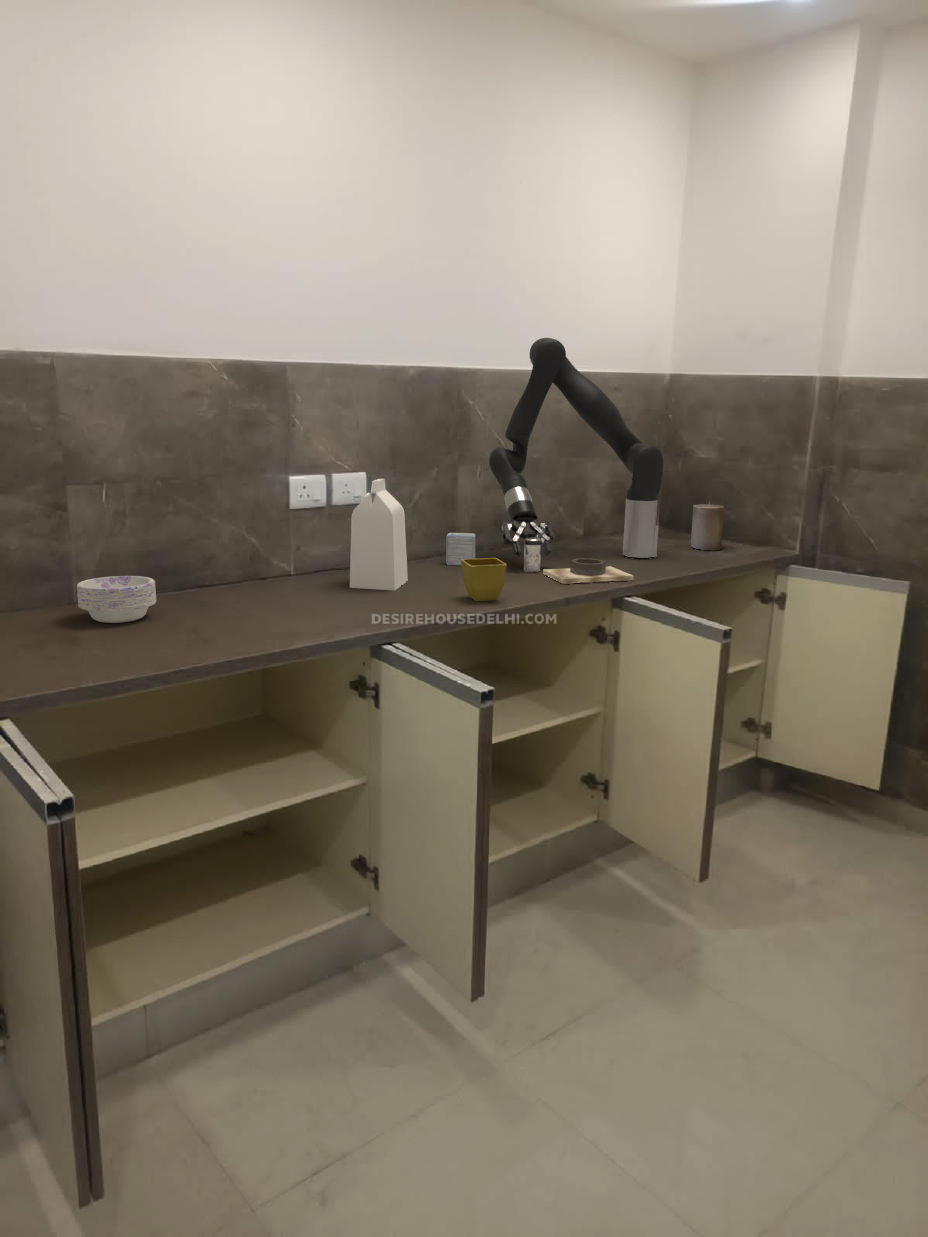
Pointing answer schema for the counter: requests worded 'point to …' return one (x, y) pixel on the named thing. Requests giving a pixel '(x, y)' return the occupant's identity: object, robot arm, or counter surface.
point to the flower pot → (483, 577)
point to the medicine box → (459, 547)
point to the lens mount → (587, 572)
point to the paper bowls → (116, 597)
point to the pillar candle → (707, 526)
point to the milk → (378, 541)
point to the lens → (532, 554)
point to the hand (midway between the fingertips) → (533, 554)
